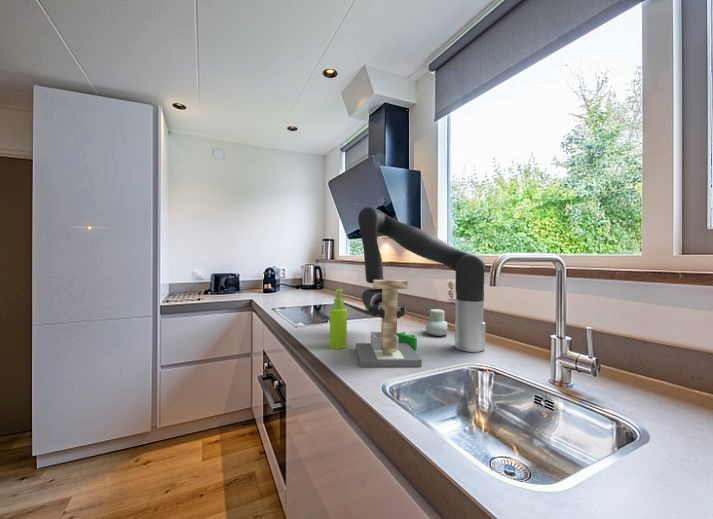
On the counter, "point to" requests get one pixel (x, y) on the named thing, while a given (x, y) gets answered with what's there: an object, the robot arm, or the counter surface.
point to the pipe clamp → (408, 340)
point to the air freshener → (436, 323)
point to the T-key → (389, 312)
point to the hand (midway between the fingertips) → (391, 314)
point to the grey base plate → (386, 354)
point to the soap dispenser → (338, 323)
